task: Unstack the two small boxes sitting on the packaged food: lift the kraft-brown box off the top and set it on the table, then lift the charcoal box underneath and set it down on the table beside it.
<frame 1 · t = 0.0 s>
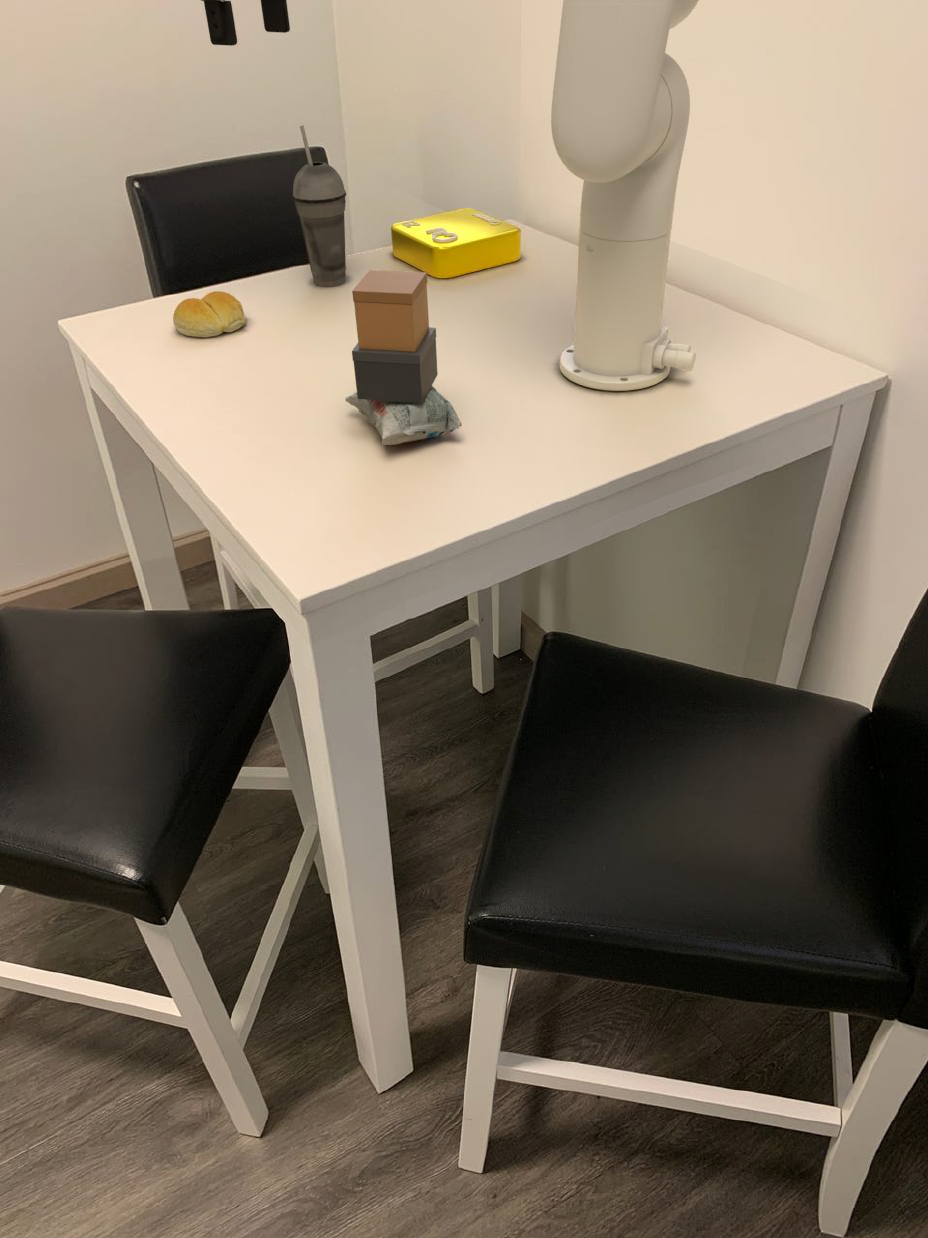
hand: (251, 37, 104), 31 cm above the table, tool pointing down, fingers open, 9 cm apart
bread roll: (213, 327, 121), on the table
beverage cup: (330, 282, 133), on the table
element tile: (456, 258, 139), on the table
kraft box: (394, 338, 91), point 10 cm above the table, touching charcoal box
charcoal box: (398, 386, 94), point 5 cm above the table, touching kraft box, packaged food
packaged food: (402, 432, 97), on the table, touching charcoal box
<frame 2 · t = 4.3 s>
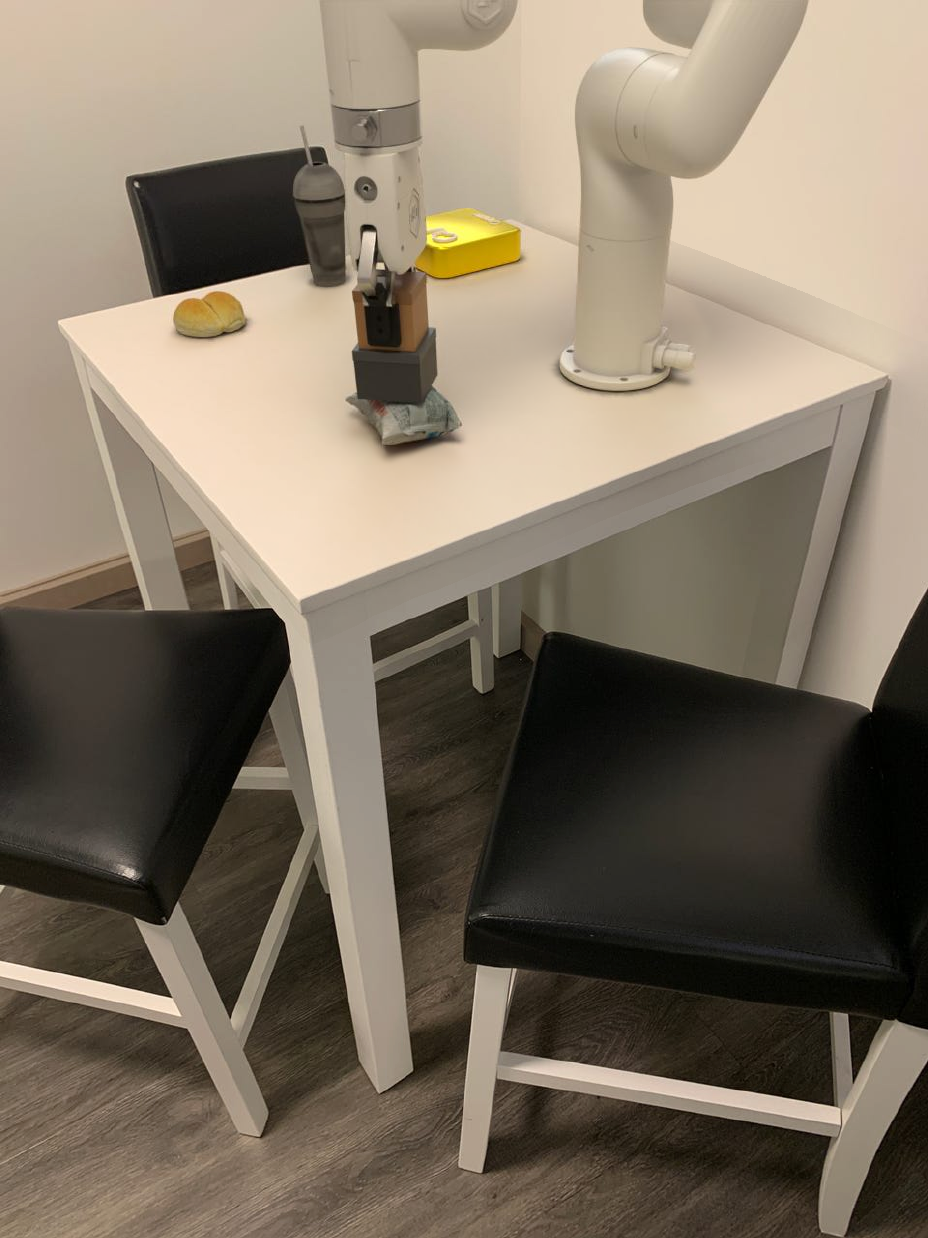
hand: (393, 330, 90), 11 cm above the table, tool pointing down, fingers closed on kraft box, 5 cm apart
kraft box: (394, 338, 91), point 10 cm above the table, touching charcoal box, gripper
everything else where it was.
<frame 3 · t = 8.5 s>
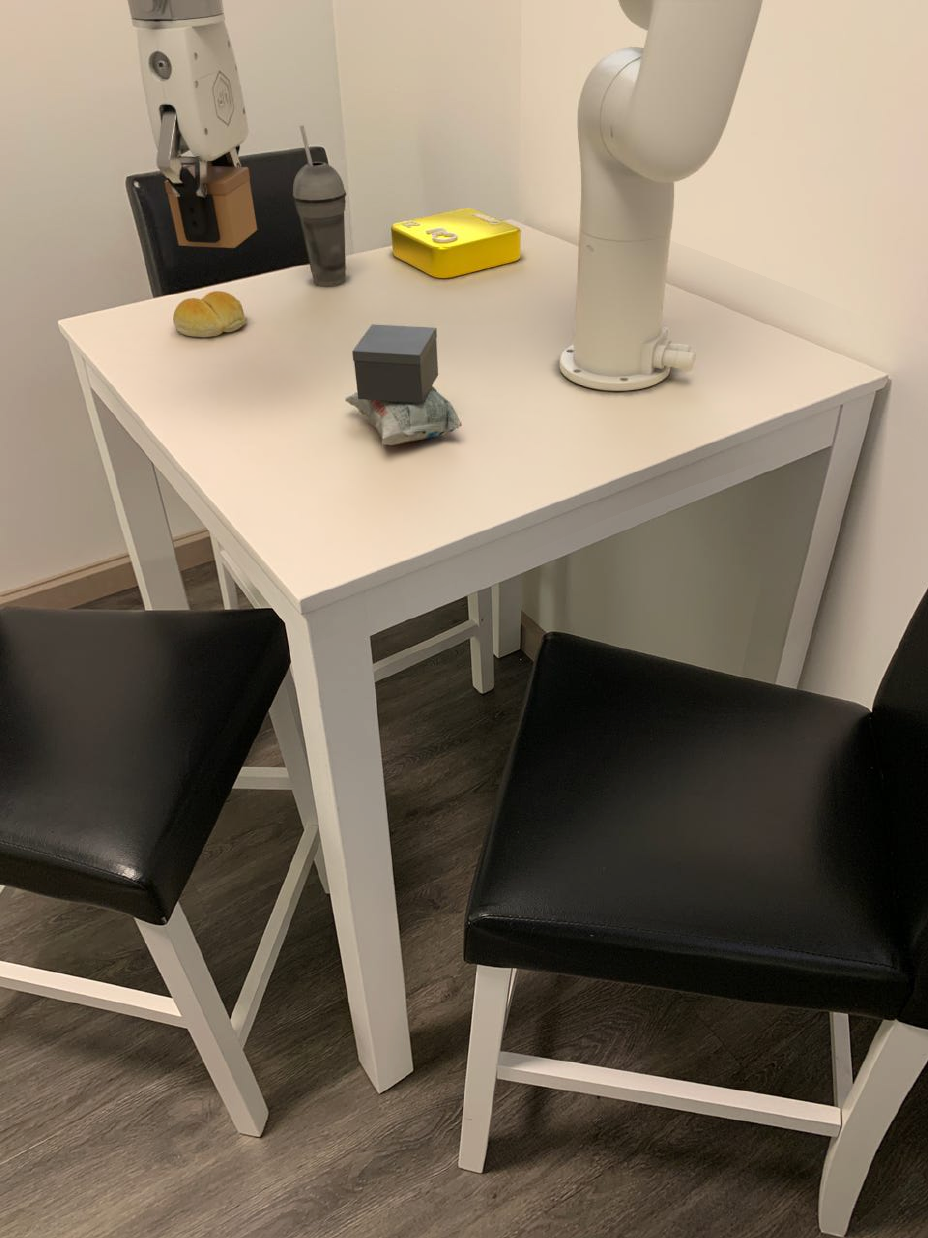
hand: (217, 228, 88), 20 cm above the table, tool pointing down, fingers closed on kraft box, 5 cm apart
kraft box: (218, 237, 88), point 19 cm above the table, touching gripper
charcoal box: (398, 386, 94), point 5 cm above the table, touching packaged food
everything else where it was.
when the fingers open (1 cm above the table, at t = 13.0 s): kraft box stays where it is, on the table.
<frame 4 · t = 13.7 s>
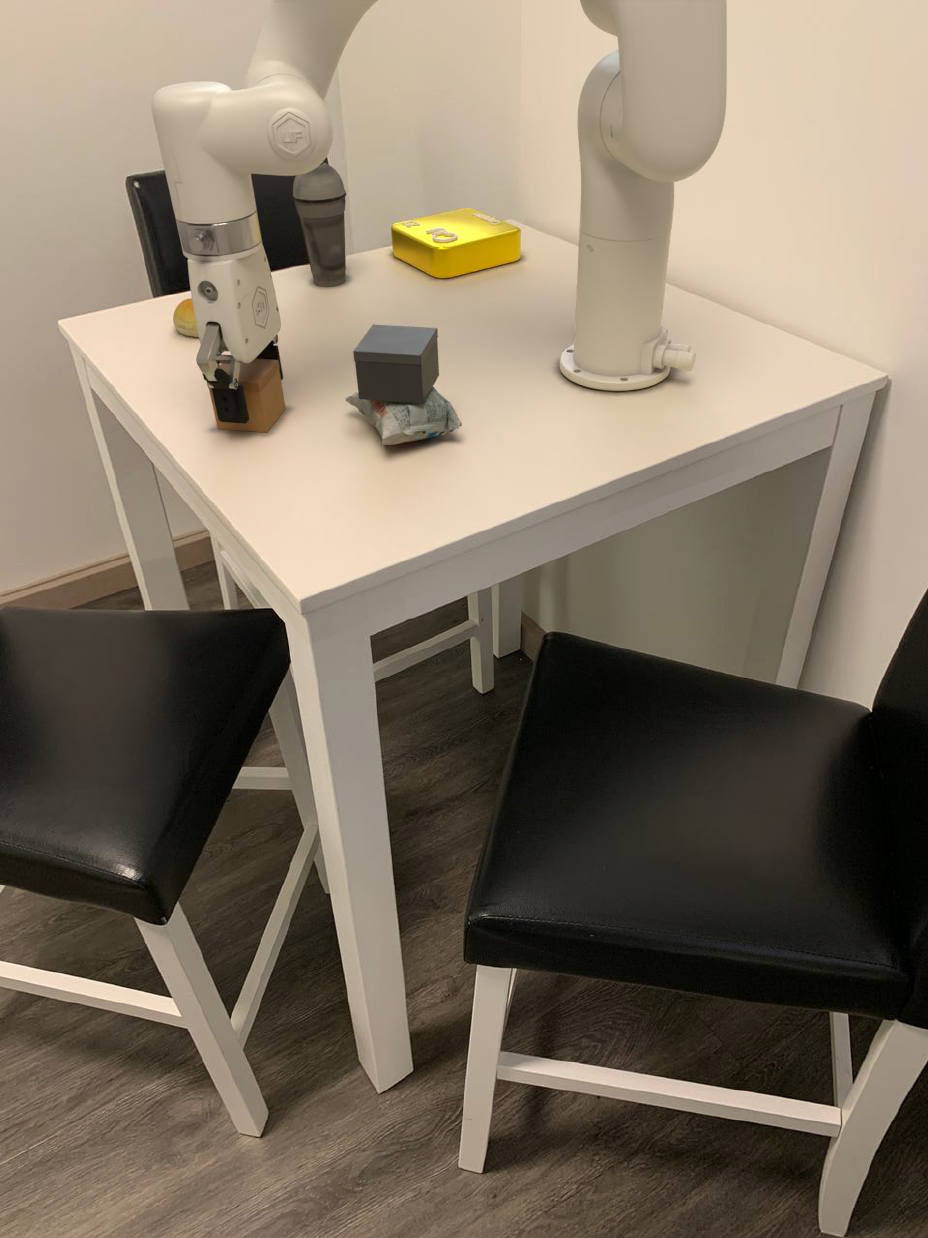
hand: (252, 400, 99), 2 cm above the table, tool pointing down, fingers open, 9 cm apart
kraft box: (252, 418, 100), on the table
everything else where it was.
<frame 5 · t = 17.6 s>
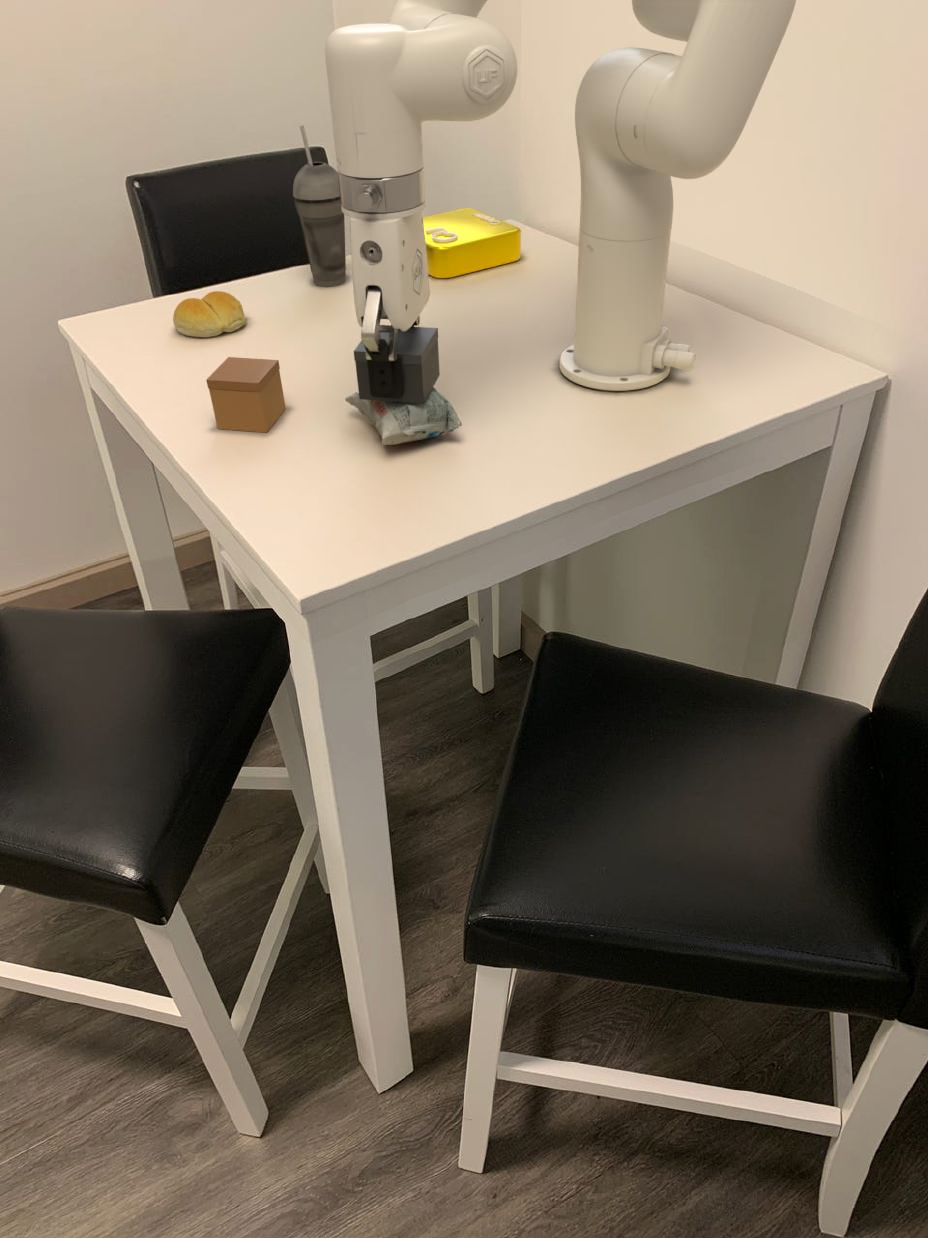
hand: (397, 378, 93), 6 cm above the table, tool pointing down, fingers closed on charcoal box, 6 cm apart
charcoal box: (400, 386, 94), point 5 cm above the table, touching gripper, packaged food
everything else where it was.
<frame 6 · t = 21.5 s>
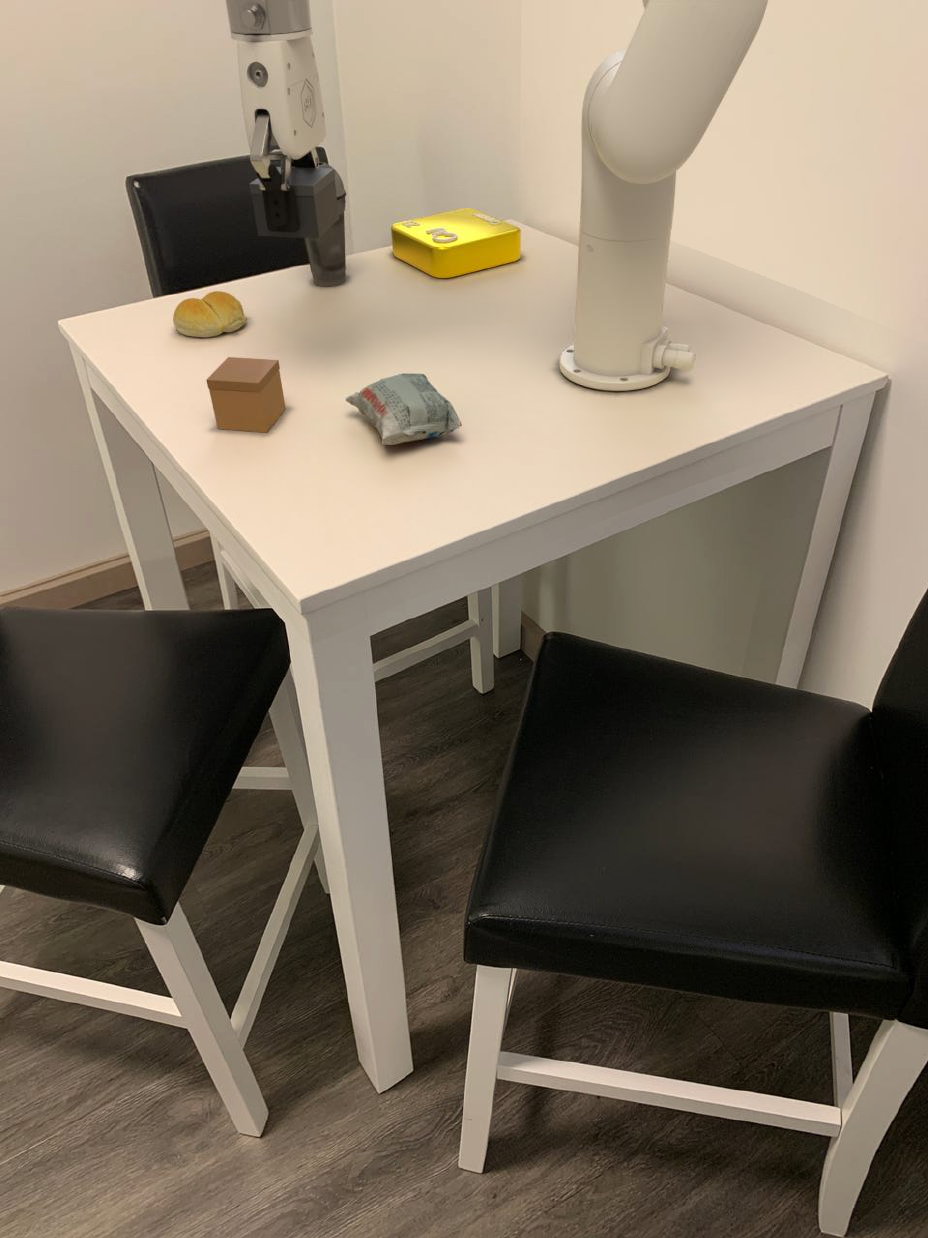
hand: (296, 218, 97), 17 cm above the table, tool pointing down, fingers closed on charcoal box, 6 cm apart
charcoal box: (299, 227, 97), point 17 cm above the table, touching gripper
packaged food: (402, 432, 97), on the table
everything else where it was.
when the fingers open (1 cm above the table, at t = 25.6 s): charcoal box stays where it is, on the table.
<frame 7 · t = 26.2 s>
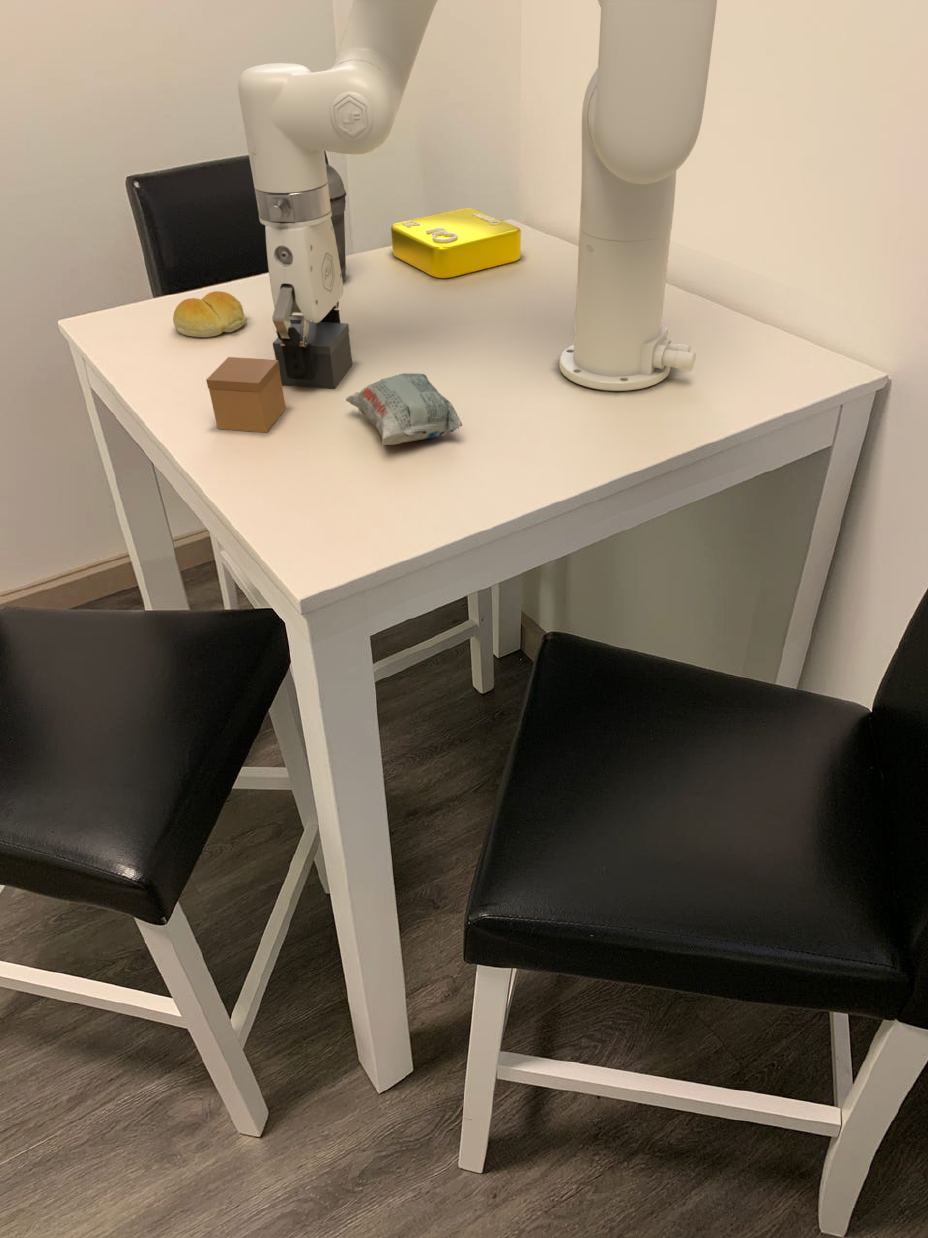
hand: (316, 359, 107), 2 cm above the table, tool pointing down, fingers open, 9 cm apart
charcoal box: (316, 374, 108), on the table
everything else where it was.
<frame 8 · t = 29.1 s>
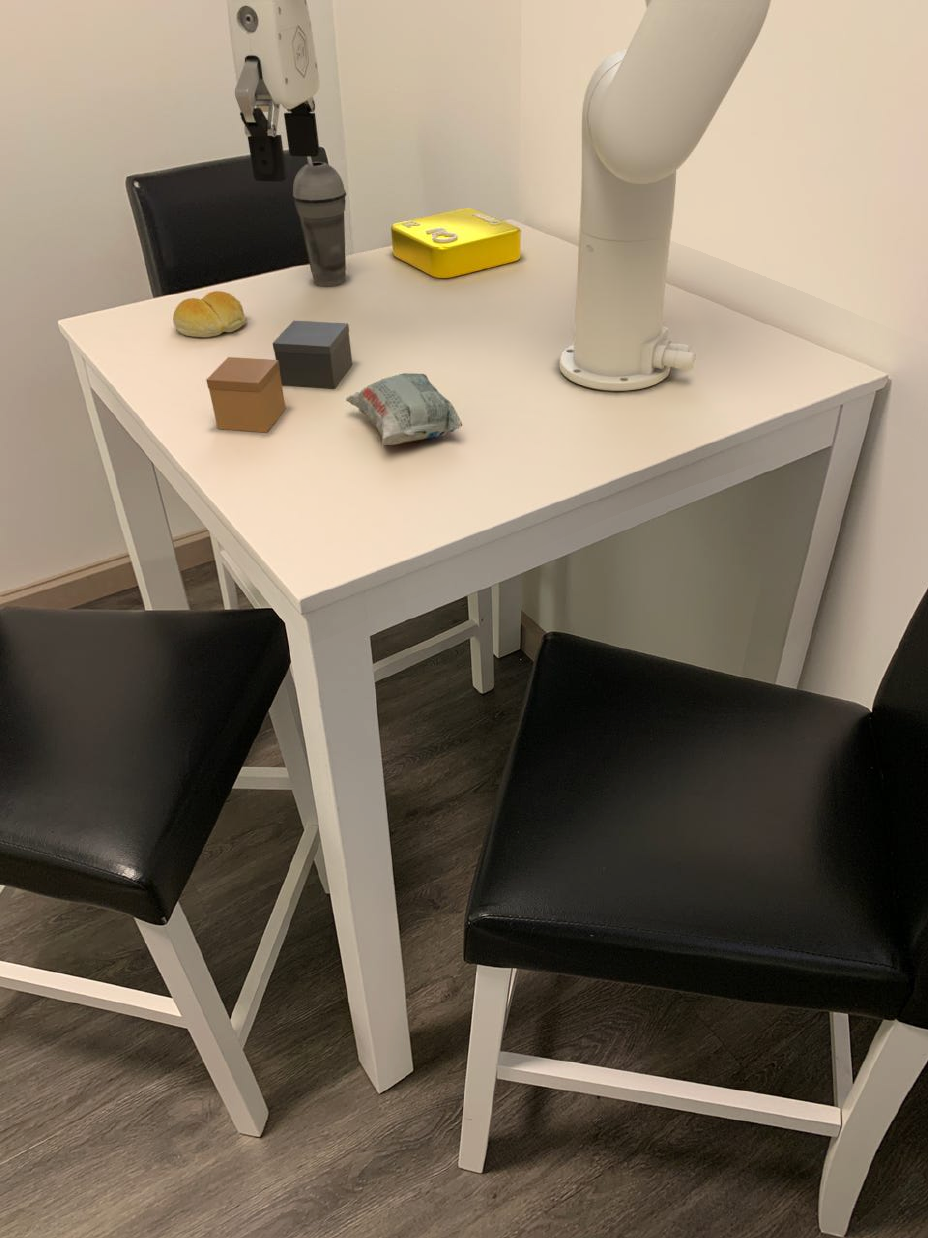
hand: (288, 167, 94), 22 cm above the table, tool pointing down, fingers open, 9 cm apart
nothing on the table moved.
at the end: kraft box inside the target area (0.3 cm from its centre), on the table; charcoal box inside the target area (0.0 cm from its centre), on the table; packaged food moved 0.2 cm from its start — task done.
